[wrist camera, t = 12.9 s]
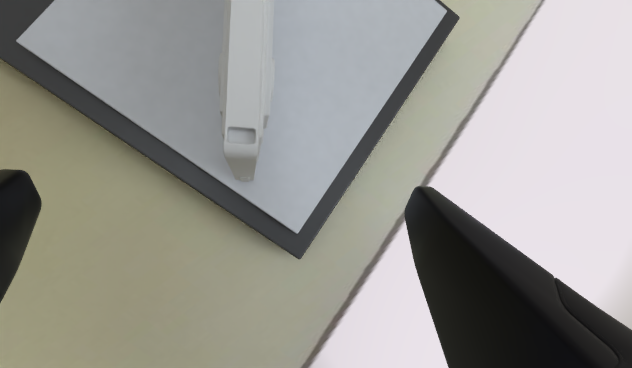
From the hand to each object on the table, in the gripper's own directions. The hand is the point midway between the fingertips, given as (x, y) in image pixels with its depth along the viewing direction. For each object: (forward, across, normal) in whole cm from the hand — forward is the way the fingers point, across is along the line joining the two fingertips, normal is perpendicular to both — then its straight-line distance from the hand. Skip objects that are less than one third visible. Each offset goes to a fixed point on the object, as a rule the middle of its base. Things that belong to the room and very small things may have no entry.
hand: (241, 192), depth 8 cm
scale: (+14, +1, +1) cm, 14 cm away
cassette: (+11, 0, +1) cm, 11 cm away
